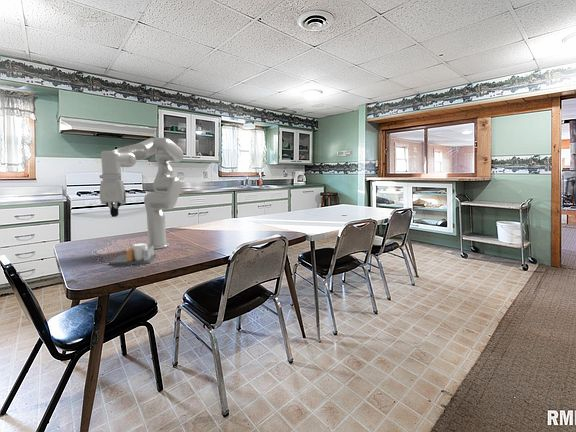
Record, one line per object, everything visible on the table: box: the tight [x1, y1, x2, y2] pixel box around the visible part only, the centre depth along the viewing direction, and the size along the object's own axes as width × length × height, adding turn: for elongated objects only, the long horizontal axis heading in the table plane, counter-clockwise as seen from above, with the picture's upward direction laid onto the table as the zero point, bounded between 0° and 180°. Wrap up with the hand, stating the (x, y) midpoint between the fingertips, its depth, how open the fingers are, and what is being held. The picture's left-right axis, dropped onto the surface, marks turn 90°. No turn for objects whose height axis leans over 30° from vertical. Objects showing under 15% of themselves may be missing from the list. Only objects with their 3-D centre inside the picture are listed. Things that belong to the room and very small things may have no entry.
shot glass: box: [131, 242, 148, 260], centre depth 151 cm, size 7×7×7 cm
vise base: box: [108, 246, 158, 266], centre depth 151 cm, size 18×12×6 cm, turn 98°
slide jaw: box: [125, 246, 134, 261], centre depth 150 cm, size 2×10×5 cm, turn 8°
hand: (114, 216), depth 147 cm, fingers closed
